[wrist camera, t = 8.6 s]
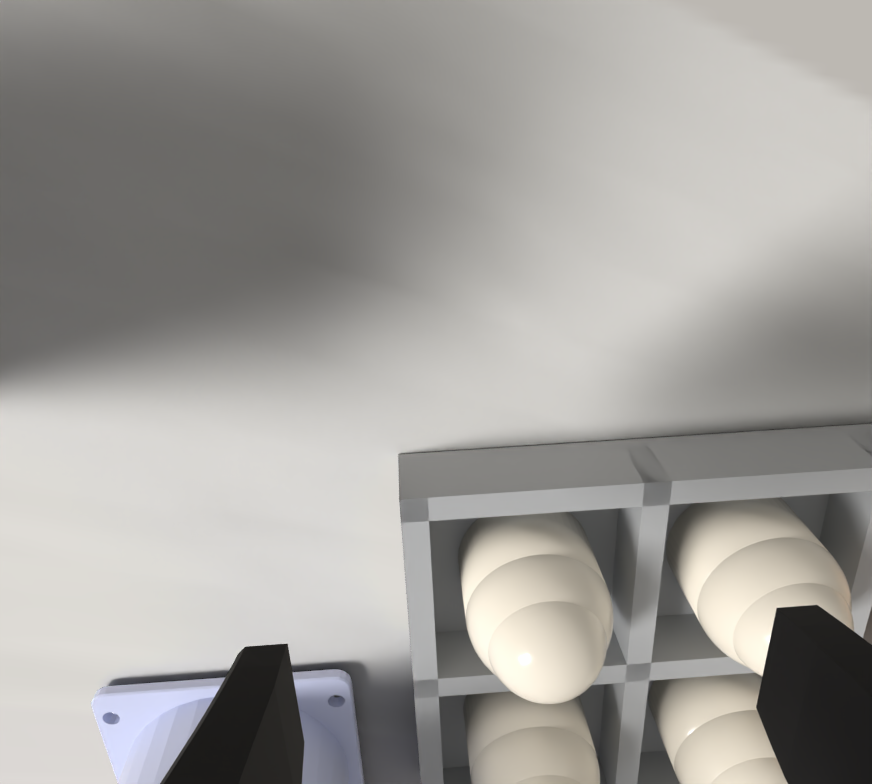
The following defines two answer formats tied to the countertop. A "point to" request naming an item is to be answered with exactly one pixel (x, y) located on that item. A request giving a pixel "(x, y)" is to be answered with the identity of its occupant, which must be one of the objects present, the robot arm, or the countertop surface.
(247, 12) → the countertop surface
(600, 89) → the countertop surface
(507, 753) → the cream eggs
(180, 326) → the countertop surface
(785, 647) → the robot arm
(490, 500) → the egg carton
